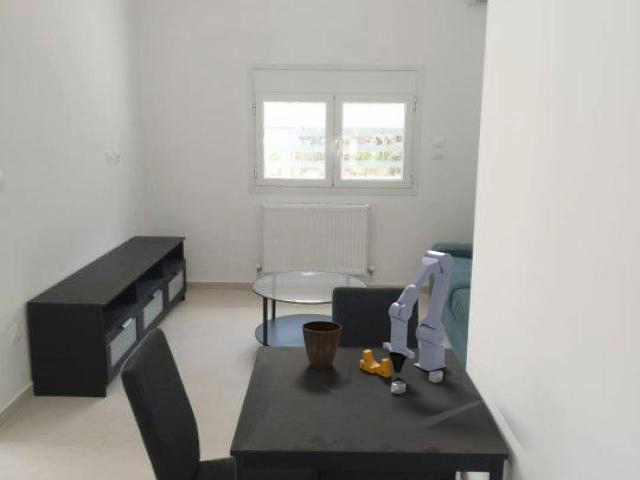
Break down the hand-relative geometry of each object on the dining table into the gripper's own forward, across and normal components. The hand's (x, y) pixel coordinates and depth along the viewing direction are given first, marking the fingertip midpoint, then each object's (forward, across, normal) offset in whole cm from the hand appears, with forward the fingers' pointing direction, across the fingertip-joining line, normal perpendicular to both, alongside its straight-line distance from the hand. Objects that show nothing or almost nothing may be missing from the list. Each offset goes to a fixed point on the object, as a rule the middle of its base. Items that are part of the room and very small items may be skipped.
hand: (397, 372), depth 217 cm
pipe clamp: (+2, -8, -4) cm, 9 cm away
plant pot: (+2, -24, -17) cm, 29 cm away
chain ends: (+2, +10, 0) cm, 10 cm away
